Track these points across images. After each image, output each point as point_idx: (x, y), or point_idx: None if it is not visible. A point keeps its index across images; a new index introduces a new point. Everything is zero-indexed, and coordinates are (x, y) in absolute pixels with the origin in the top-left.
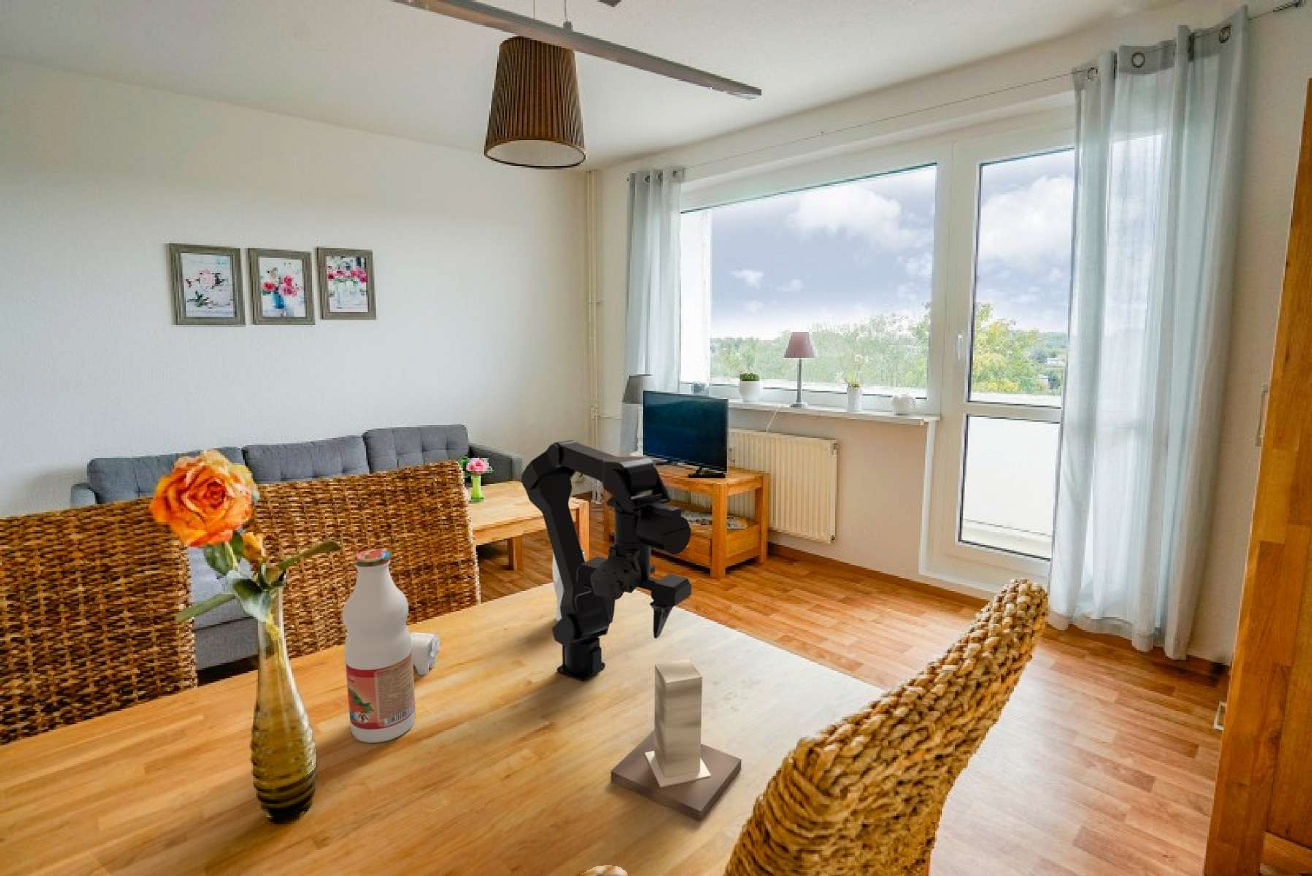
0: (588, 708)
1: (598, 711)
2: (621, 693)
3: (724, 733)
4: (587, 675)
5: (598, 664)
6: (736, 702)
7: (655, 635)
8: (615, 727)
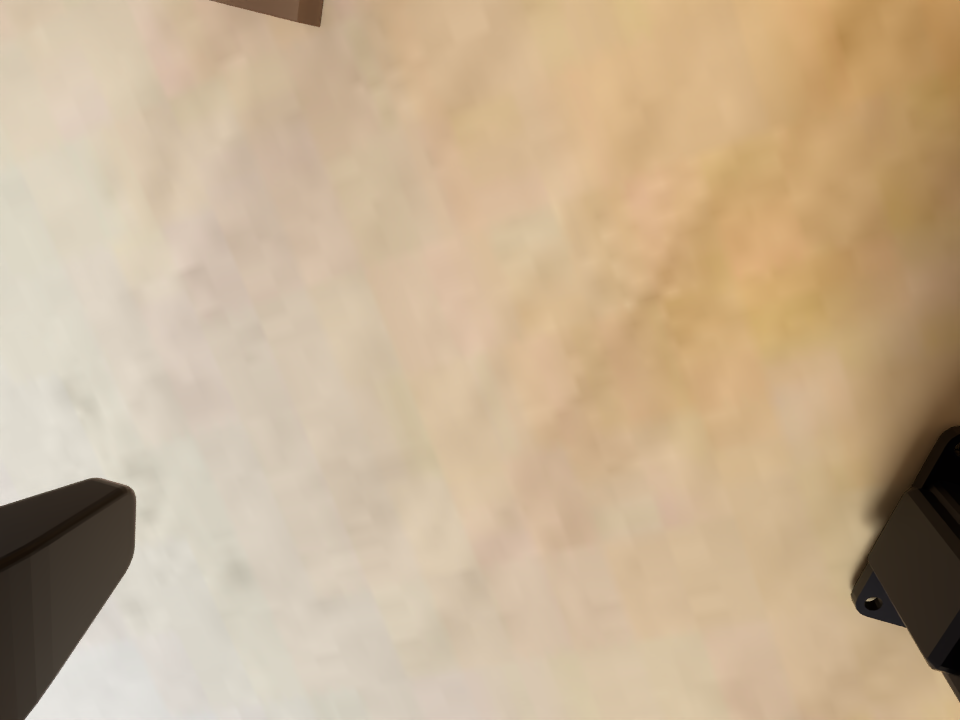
0: (837, 158)
1: (758, 148)
2: (670, 373)
3: (24, 184)
4: (943, 474)
5: (897, 558)
6: (90, 449)
7: (55, 494)
8: (592, 14)
